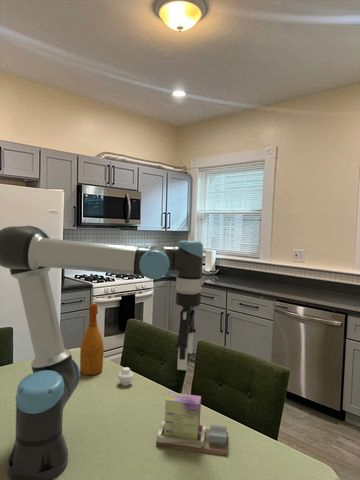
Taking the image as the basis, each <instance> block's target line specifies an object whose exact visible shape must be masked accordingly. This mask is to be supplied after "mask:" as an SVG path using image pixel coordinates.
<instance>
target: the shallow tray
mask: <svg viewBox="0 0 360 480" xmlns="http://www.w3.org/2000/svg"><path fill="white" fill-rule="evenodd" d="M164 423H165V419H164V420H162V422H161V423H160V426H159V429H158V432H157V435H156V437H157V438H156V443H155V447H163V448H169V449H177V450H184V451H191V452H199V453H205V454H212V455H220V456H228V446H229V444H228V443H229V440H228V439H229V433H228V431H227V429H228V428H227V427H228V426H227V425H221V424H214V423H213V424H212V423H211V424H210V426H209V429H207V426H205V424H204V423H200V427H199V436H198V440H190V439H183V438H175V437H168V436H164Z"/></svg>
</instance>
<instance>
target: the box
mask: <svg viewBox="0 0 360 480" xmlns="http://www.w3.org/2000/svg"><path fill="white" fill-rule="evenodd" d="M164 406H165V407H164V420H165V423H164V436H168V437H175V438H183V439H190V440H198V436H199V427H200V424H201V409H202V408H201V407H202V396H201V395H195V394H194V395H193V394H188V393H181V392H180V393H178V392H173V391H172V392H171V391H169V392H168V394H167V397H166V399H165V405H164Z"/></svg>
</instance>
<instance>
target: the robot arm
mask: <svg viewBox="0 0 360 480" xmlns="http://www.w3.org/2000/svg"><path fill="white" fill-rule="evenodd" d="M203 247H204V244H203V243H202V242H201V241H198V240H179V241H178V243H177V246H164V245H163V246H161V245H151V244H150V245H140V246H139V247H137V246H130V245H129V246H127V245H118V244H107V243H106V244H105V243H98V242H97V243H96V242H87V241H86V242H85V241H77V240H66V239H58V238H51V237H50V235H49V234H48V232H46V231H45V230H43V229H42V228H41V227H40V228H39V227H36V226H33V225H23V226H22V225H20V226H19V225H18V226H15V225H14V226H13V225H12V226H7V227H4V228H1V229H0V267H3V268H6V269H8V270H9V272H10V276H11V277H13V278H15V279H16V280H17V282H18V286H19V287H18V288H19V292H20V295H21V300H22V304H23V309H24V313H25V316H26V317H25V318H26V321H27V326H28V330H29V331H28V332H29V335H30V336H29V337H30V339H31V344H32V348H33V353H34V358H33V360H32V362H31V364H30V366H31V371H32V374H28V375H25V376H24V377H23V378H22V379H21V381H20V382H19V383H18V385H17V389H16V395H15V405H16V406H15V440H14V443H13V447H12V448H11V451H10V454H9V457H8V460H7V464H6V465H7V466H6V467H7V468H6V469H7V470H6V472H7V475H8V477H9V479H10V480H52V479H54V478H56V477H57V476H58V475H60V474H61V473H62V472H63V471H64V470H66V467H67V466H68V462H69V450H68V447H67V444H66V440H65V437H64V434H63V420H64V419H63V416H64V415H63V414H64V408H65V407H66V405H67V403H68V401H69V399H71V397H72V395H73V393H74V392H75V390H76V389H77V386H78V384H79V381H80V376H81V371H80V366H79V364H78V363H77V361H76V360H75V359H73V355H72V352H71V351H70V350H69V349H67V348H65V344H64V340H63V339H64V338H63V335H62V331H61V326H60V321H59V316H58V313H57V308H56V303H55V299H54V294H53V290H52V285H51V282H50V281H51V280H50V276H49V272H50V270H51V269H52V268H53V269H63V270H74V271H75V270H76V271H85V272H86V271H87V272H95V273H107V274H119V275H130V276H137V277H145V278H146V279H149V280H160V279H161V278H163V277H164V276H166V275H167V273H168V272H173V273H174V272H176V274H177V275H176V288H175V289H176V290H177V291H176V292H175V305H177V306H181V307H182V309H181V311H180V313H179V315H180V316H179V318H180V319H179V328H178V338H177V343H176V344H175V348H177V368H176V369H177V370H180V371H187V370H188V357H189V355H188V354H193V352H194V351H193V350H194V349H193V347H194V333H196V331H197V330H196V328H195V313H196V312H195V311H196V310H195V307H199V306H200V305H201V300H202V299H201V298H202V297H201V296H202V294H201V292H202V285H204V281H202V278H203V277H202V275H203V262H204V261H203V260H204V248H203Z"/></svg>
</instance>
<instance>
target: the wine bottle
mask: <svg viewBox="0 0 360 480" xmlns="http://www.w3.org/2000/svg"><path fill="white" fill-rule="evenodd" d="M98 308H99V306H98V304H97V303H90V305H89V322H88V323H89V324H88V327H87V328H86V331H85V333H84V336H83V338H82V340H81V343H80V351H79V353H80V356H79V357H80V358H79V359H80V360H79V370H80V374H83V375H86V376H94V375H98V374H100V373H101V372H102V371H103V365H104V352H105V351H104V350H105V349H104V341H103V337H102V334H101V332H100V330H99V327H98V322H97V321H98V320H97V314H98Z"/></svg>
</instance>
